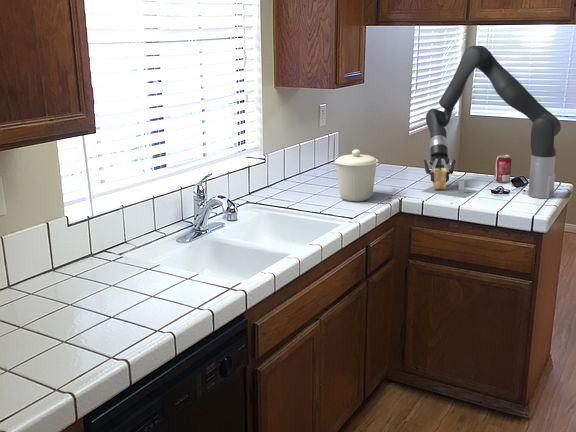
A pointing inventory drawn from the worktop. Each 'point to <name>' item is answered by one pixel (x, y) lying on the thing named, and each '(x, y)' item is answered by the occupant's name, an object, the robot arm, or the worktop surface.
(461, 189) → the metal shaft
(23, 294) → the worktop surface
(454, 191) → the slate base plate
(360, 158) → the canister
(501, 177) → the soda can
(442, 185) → the ochre knob
